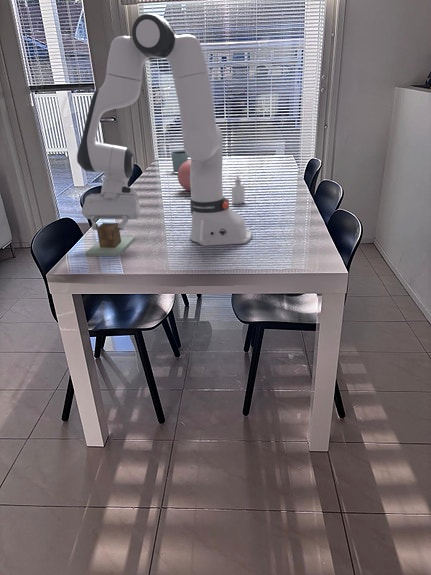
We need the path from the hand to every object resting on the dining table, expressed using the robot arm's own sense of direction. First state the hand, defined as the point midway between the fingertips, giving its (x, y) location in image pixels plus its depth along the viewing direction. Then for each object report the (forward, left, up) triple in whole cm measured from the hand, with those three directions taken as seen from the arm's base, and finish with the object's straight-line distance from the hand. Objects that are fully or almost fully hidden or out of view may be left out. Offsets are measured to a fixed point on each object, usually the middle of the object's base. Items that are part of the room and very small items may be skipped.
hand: (107, 229), depth 147 cm
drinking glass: (+6, -127, -7) cm, 127 cm away
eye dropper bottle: (-38, -58, -7) cm, 69 cm away
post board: (0, -1, -7) cm, 7 cm away
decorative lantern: (-13, -78, -7) cm, 79 cm away
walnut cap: (0, -1, -6) cm, 6 cm away
